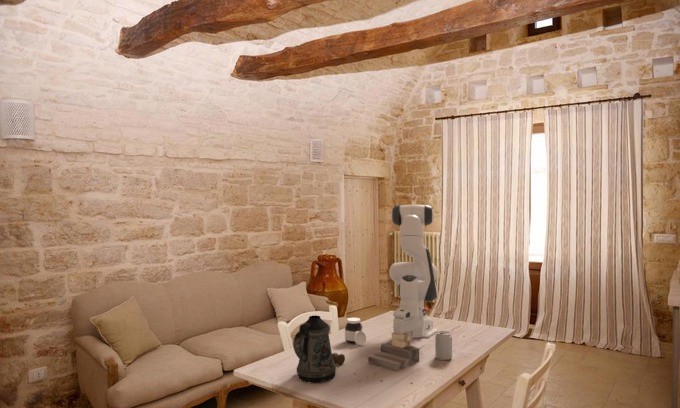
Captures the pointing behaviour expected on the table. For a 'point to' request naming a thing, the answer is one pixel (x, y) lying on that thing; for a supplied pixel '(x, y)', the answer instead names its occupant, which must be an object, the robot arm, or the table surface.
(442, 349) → the can
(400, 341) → the maple cube
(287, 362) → the table surface
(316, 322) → the beer stein
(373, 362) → the stair block
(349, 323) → the spread jar
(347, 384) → the table surface
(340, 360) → the kendama
